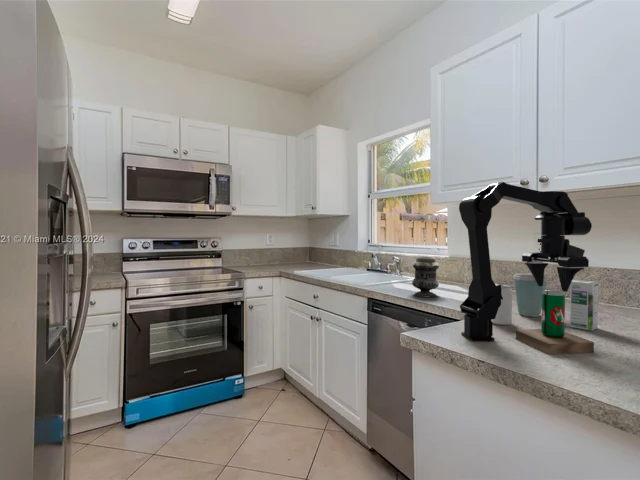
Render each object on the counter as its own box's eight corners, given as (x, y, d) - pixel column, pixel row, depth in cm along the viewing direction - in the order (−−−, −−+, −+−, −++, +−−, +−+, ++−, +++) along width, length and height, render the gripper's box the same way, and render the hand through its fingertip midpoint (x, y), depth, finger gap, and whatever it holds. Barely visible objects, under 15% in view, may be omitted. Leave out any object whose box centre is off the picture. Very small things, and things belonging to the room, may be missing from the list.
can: (484, 321, 113) (485, 285, 113) (498, 319, 116) (499, 284, 115) (502, 326, 107) (502, 288, 107) (516, 324, 110) (516, 287, 109)
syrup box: (569, 327, 106) (569, 280, 106) (576, 324, 109) (576, 279, 109) (591, 331, 101) (592, 282, 101) (598, 328, 105) (599, 281, 104)
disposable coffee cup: (505, 312, 125) (506, 271, 125) (527, 310, 129) (527, 270, 128) (532, 319, 115) (533, 275, 115) (554, 316, 119) (555, 273, 118)
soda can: (542, 331, 93) (543, 287, 92) (565, 335, 89) (566, 289, 89) (539, 336, 89) (540, 290, 89) (563, 340, 86) (564, 292, 85)
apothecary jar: (435, 298, 151) (436, 258, 151) (408, 296, 157) (409, 257, 157) (441, 294, 162) (441, 256, 161) (415, 292, 168) (415, 255, 167)
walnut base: (548, 354, 83) (548, 343, 83) (515, 338, 95) (515, 329, 95) (593, 352, 84) (594, 342, 84) (555, 337, 96) (555, 328, 96)
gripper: (608, 235, 91) (607, 294, 91) (553, 235, 109) (553, 283, 110) (569, 236, 90) (568, 295, 90) (521, 235, 108) (520, 284, 109)
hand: (552, 288), depth 100 cm, fingers open, 9 cm apart
